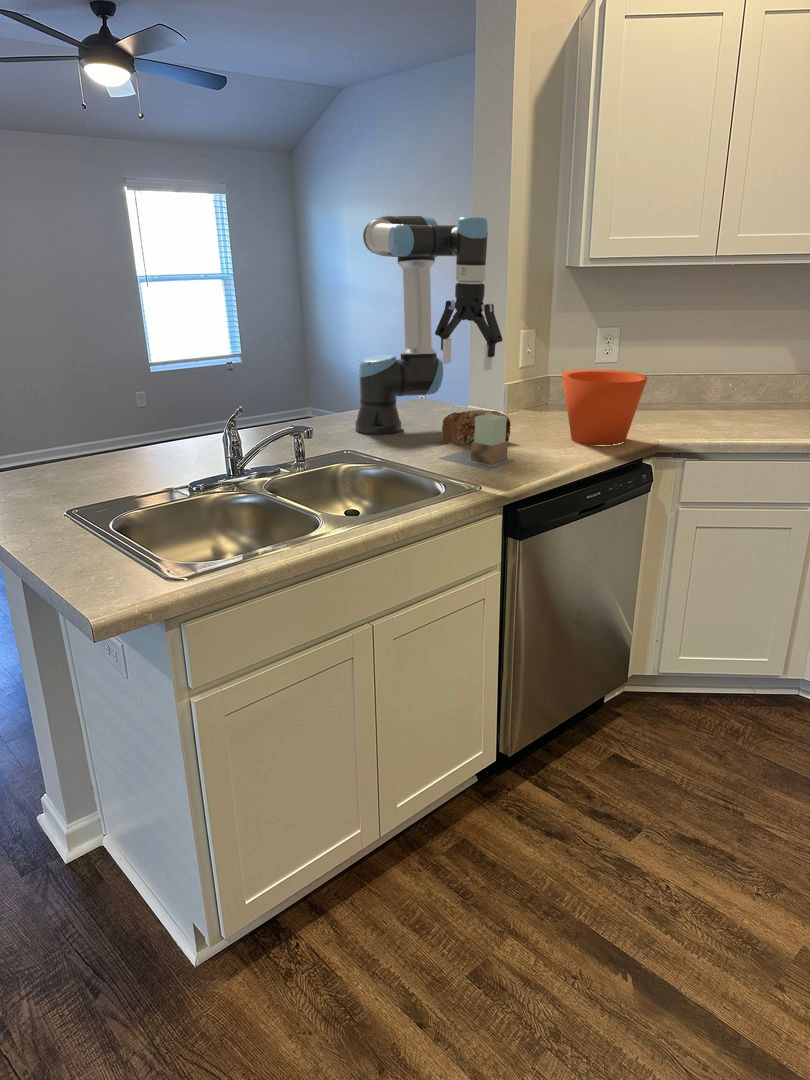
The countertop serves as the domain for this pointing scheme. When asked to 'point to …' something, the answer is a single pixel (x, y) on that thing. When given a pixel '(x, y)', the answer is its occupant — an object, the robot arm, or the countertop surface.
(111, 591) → the countertop surface
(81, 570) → the countertop surface
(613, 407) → the flowerpot
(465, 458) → the build mat
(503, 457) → the walnut base
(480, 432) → the green block
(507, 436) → the bread
